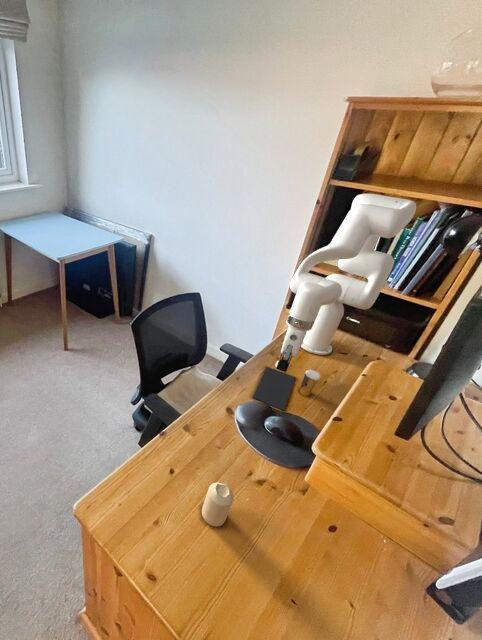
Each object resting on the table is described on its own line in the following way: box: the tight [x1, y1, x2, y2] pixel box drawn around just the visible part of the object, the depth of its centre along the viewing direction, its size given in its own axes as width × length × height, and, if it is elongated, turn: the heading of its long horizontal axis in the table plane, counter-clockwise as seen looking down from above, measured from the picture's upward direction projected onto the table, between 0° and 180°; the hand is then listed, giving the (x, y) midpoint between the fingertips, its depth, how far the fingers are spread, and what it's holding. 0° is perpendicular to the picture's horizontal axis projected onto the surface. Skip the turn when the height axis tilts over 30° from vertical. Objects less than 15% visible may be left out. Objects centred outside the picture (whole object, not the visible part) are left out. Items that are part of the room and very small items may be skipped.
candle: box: [201, 482, 235, 528], centre depth 79 cm, size 6×6×10 cm
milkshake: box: [299, 363, 322, 397], centre depth 117 cm, size 4×5×10 cm
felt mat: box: [252, 366, 296, 412], centre depth 120 cm, size 20×10×1 cm, turn 146°
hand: (282, 365), depth 118 cm, fingers closed on rook chess piece, 4 cm apart
